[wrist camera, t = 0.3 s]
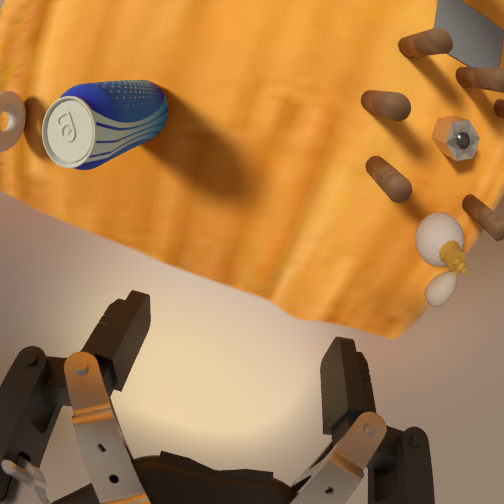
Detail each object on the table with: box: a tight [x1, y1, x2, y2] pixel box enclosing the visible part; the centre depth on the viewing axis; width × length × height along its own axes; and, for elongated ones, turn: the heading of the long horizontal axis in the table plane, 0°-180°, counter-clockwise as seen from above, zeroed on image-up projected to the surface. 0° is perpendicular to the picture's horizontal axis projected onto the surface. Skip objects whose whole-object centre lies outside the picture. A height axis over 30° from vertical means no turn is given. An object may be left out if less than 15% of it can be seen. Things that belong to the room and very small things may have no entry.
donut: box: [0, 91, 26, 152], centre depth 29 cm, size 10×4×10 cm, turn 172°
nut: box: [432, 116, 480, 161], centre depth 29 cm, size 6×5×4 cm
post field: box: [361, 28, 504, 241], centre depth 26 cm, size 20×23×9 cm
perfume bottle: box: [415, 212, 467, 307], centre depth 33 cm, size 8×10×12 cm
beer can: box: [42, 80, 168, 170], centre depth 27 cm, size 8×8×16 cm
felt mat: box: [434, 0, 504, 69], centre depth 22 cm, size 10×12×1 cm
